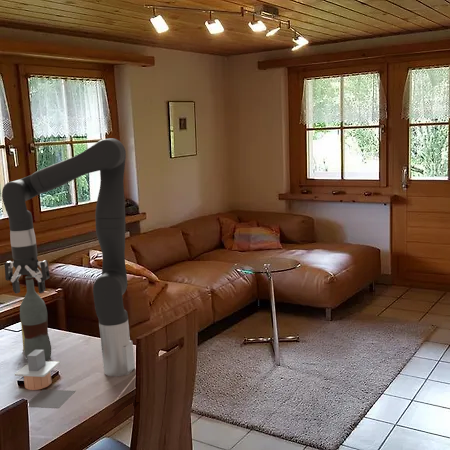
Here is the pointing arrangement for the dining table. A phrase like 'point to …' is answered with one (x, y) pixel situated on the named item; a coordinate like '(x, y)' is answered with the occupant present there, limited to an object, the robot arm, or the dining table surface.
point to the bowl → (37, 382)
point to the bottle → (34, 322)
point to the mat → (50, 398)
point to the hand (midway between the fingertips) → (29, 292)
